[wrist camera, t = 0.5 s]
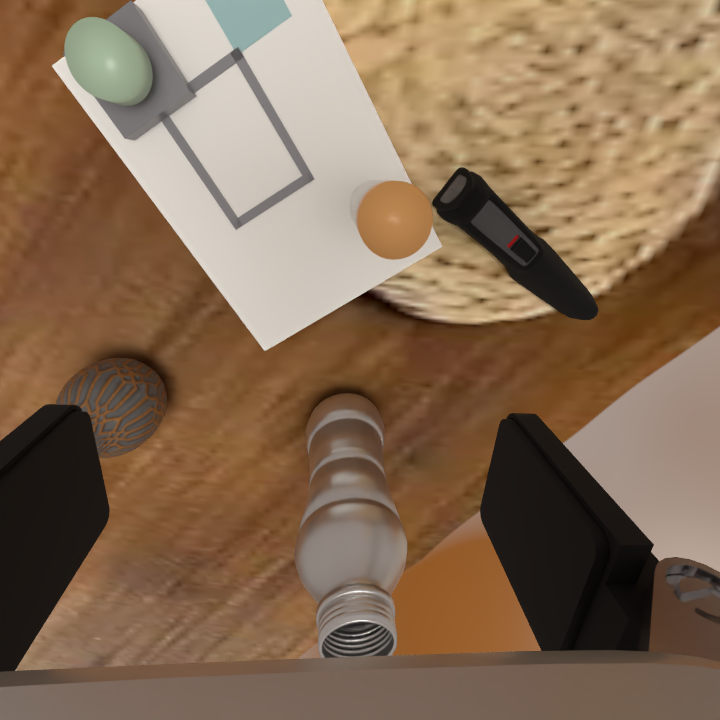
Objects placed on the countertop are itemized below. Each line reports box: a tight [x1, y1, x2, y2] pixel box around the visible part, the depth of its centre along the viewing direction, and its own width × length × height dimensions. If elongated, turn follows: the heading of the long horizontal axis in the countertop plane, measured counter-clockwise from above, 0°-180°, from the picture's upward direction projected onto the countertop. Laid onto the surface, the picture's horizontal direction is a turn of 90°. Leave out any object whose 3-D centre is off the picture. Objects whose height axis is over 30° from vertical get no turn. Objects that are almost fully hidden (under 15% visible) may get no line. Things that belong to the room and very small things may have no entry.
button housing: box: [63, 1, 196, 140], centre depth 26 cm, size 5×5×2 cm
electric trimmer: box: [433, 168, 598, 320], centre depth 32 cm, size 4×15×3 cm, turn 52°
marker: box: [350, 180, 433, 260], centre depth 26 cm, size 4×4×10 cm
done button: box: [65, 17, 153, 106], centre depth 23 cm, size 4×4×2 cm
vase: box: [56, 358, 167, 458], centre depth 31 cm, size 7×7×9 cm
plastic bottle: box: [294, 393, 407, 658], centre depth 28 cm, size 6×7×20 cm
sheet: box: [52, 0, 442, 351], centre depth 29 cm, size 16×22×1 cm
